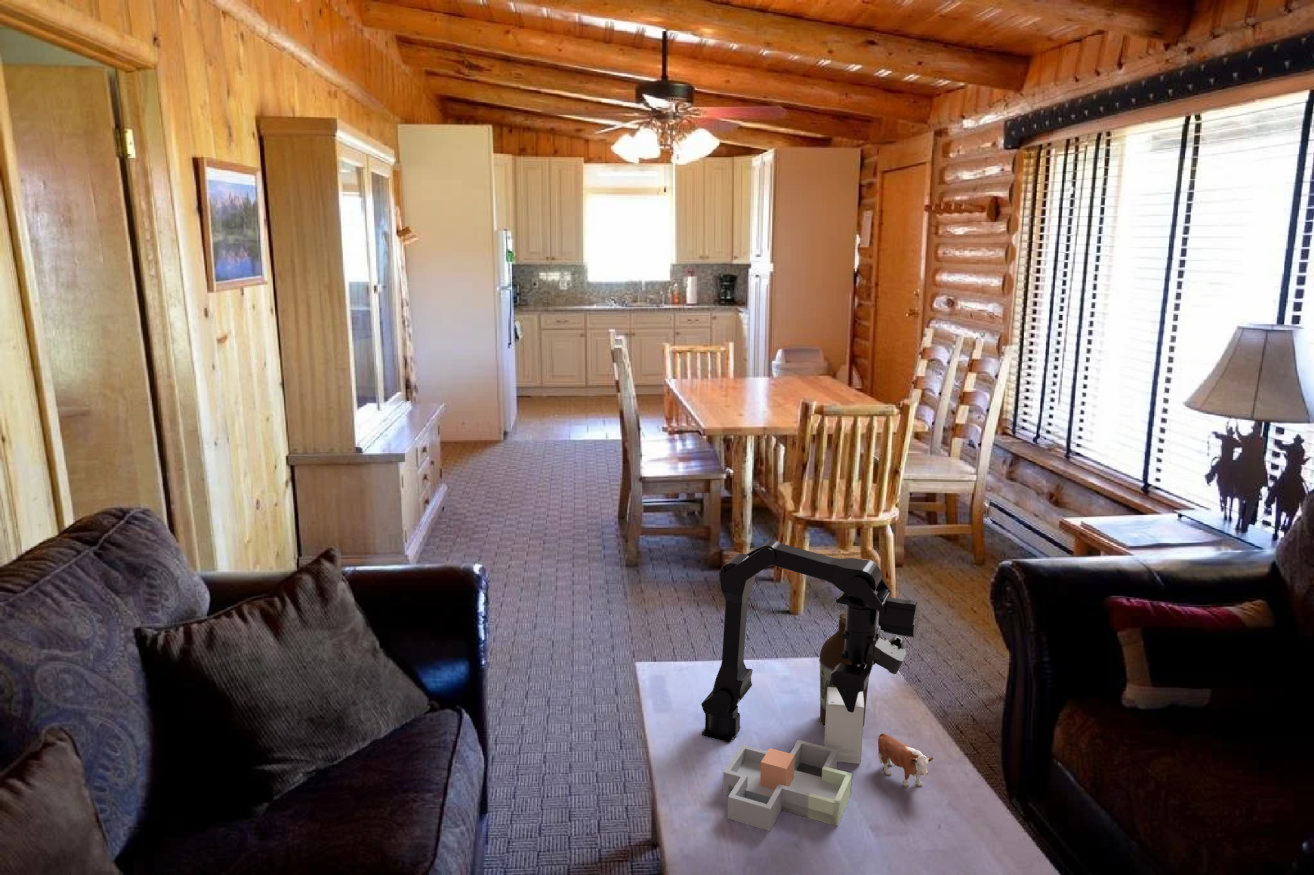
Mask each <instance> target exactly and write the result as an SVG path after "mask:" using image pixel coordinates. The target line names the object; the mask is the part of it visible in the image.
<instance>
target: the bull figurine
mask: <svg viewBox="0 0 1314 875" xmlns="http://www.w3.org/2000/svg"><path fill="white" fill-rule="evenodd" d="M877 745H878V746H877V747H878V749H877V750H878V754H877V755H878V759H879V760H878V761H879V762H880V764H883V767H884V768H883V772H884V773H885V775H886V776H887V777H889V776H891V775H892V773H891V770H890V769H889V767H893V765H894V766H896V767H899V768H901V769H902V770H903V771H904V778H903V780H902V784H903V787H905V788H909V786H910V785H909V782H908V780H909V778H910V775H911V776H913V777H915V783H916V786H917V787H919V788H921V787H923V783H922V781H921V779H920V776H928V775H929V772H928V764H929V762H932V761H933V760H934V757H933V756H930V757H928V758H927V756H926V755H924V754H923V753H922V751H920V750H918V749H916V748H913V747H910V746H908V745H906V744H905V743H903V742H902V741H900V740H899V739H897V738H895V737H893V736H891V735H889V734H886V733H884V732H882V733H880V734H879V736H878V739H877Z"/></svg>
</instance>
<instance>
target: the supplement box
mask: <svg viewBox="0 0 1314 875" xmlns="http://www.w3.org/2000/svg"><path fill="white" fill-rule="evenodd" d="M863 717H864V697H863V692H859V694H858V698H857V702H856V706H855V710H854V712H853V713H852V712H848V711H847V708H846V706H845V704H844V702H843V700H842V697H841V695H840V693H839V691H838V690H837V688H836V687H827V700H826V719H825V727H824V740H823V746H825V747H829V748H833V749H837V750H838V752H837V763H838V762H840V763H845V764H846V763H849V764H857V765H858V764H862V751H863V749H862V747H863V730H864V729H863V728H864V727H863Z"/></svg>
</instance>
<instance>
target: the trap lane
mask: <svg viewBox="0 0 1314 875" xmlns="http://www.w3.org/2000/svg"><path fill="white" fill-rule="evenodd" d="M767 751H768V750H764V749H760V748H757V747H752V746H749V745H745V744H741V745H740V747H739V748H738V750H737V752H736V753H735V754H734V756H733V757H732V758H731V760H730V761H729V763H728V765H727V766H726V768H725V769H724V770H723V772H722V775H723V776H722V778H723V780H722V782H723V783H722V793H723V794H724V795H725V794H726V795H727V819H728V820H731V821H735V822H739V823H741V824H744V825H748V826H752V827H753V828H754V827H755V828H758V829H761V830H765V831H768V832H771V829H772V828H773V826H774V825H775V822H776V820H777V818H778V817H779V815H780V813H781V811H783V812H786V813H791V814H795V815H797V816H801V817H804V818H808V819H811V820H814V821H818V822H822V823H825V824H828V825H830V826H831V825H832V826H835V827H838V826H839V824H840V822H841V819H842V817H843V816H844V813H845V810H846V809H847V805H848V803H849V800H850V799H851V797H852V790H853V788H852V787H853V773H852V772H848V771H844V770H840V769H837V768H838V767H837V766H838V761H837V752H838V750H837V749H833V748H829V747H825V746H824V745H820V744H816V743H812V742H809V741H804V740H800V739H797V741H796V742H795V745H794V746H793V748H792V749H791V751H790V752H789V753H790V754H794V755H795V762H794V779H793V781H792V782H791V784H790V786H789V787H788V786H784V785H780V784H778V786H777V787H776V789H775V790H774V789H771V788H767V787H764V786H760V777H761V761H762V759H763V758H764V756H765V755H766V753H767ZM728 794H729V795H728Z"/></svg>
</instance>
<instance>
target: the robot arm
mask: <svg viewBox="0 0 1314 875" xmlns="http://www.w3.org/2000/svg"><path fill="white" fill-rule="evenodd" d="M770 566H772V567H773V566H774V567H777V568H781V569H783V570H787V571H791V572H794V573H798V574H801V575H805V576H808V577H811V578H814V579H819V580H822V581H825V582H827V583H829V584H832V585H833V586H834V587H836V588H837V589H838V591H841V592H840V593H839V595H838V596H837V598H835V599H836V600H835V602H836V604H839V605H841V604H842V605H845V606H846V611H845V612H846V628H845V631H844V632H843V636H842V638H843V639H845V648H844V650H843V652H842V656H841V658H844V659H848V661H849V662H852V664H851V665H848V664H844V663H840V664H839V665H837V666H836V667H835V669H834V670H833V672H832V673H831V684H832V685H834V686H836V688H837V690H838V691H839V693H840V695H841V697H842V700H843V702H844V704H845V706H846V708H847V711H848V712H852V713H853V712H854V710H855V706H856V702H857V698H858V694H859V692H863V691H864V690H865V689H866V686H867V684H868V685H869V682H868V679H870V675H871V672H872V669H873V666H874V665H878V667H879V666H880V667H881V668H883V669H885V670H887V671H888V673H890V674H893V675H897V674H898V672H899V670H900V668H901V666H902V664H903V662H904V660H905V659H906V656H907V651H906V650H907V649H906V648H904V639H903V638H902V637H906V638H911V639H915V638H916V636H917V633H918V630H919V623H920V613H919V607H918V605H919V604H918V603H919V602H918V601H917V600H915V599H904V598H903V599H902V598H896V597H891V595H892V593H893V592H892V591H891V589H890V587H889V586H888V585H887V583H886V582H885V580H884V578H883V577H882V575H883V574H882V571H881V569H880V567H879V566H878V564H877V563H876V562H875V561H873V560H871V559H864V558H854V557H848V558H837V557H832V556H828V555H825V554H821V553H818V552H814V551H810V550H807V549H804V548H803V549H802V548H799V547H796V546H792V545H788V544H785V543H781V542H780V541H778V540H775V539H774V540H773V539H772V540H767V541H766V542H765V543H764V544H763V545H760V546H759V547H757V548H754V549H753V550H751V551H750V552H748V553H747V554H746V553H738V554H736V555H734V556H732V558H731V559H730V560H729V561H727V562H726V563H725V564H724V565H723V566H722V567H721V568H720V570H719V574H718V575H719V577H718V578H719V585H720V591H721V593H722V596H723V598H724V602H725V603H724V617H723V618H724V619H723V636H722V637H723V638H722V650H721V651H722V653H721V664H720V667H719V669H718V672H717V675H716V678H715V680H714V684H713V688H712V691H710V693H709V694H708V695H707V696H706V697H705V699H704V700H703V701H702V702H701V707H702V712H703V713H704V715H705V716H704V730H702V733H701V736H702V737H705V738H710V739H713V740H717V741H721V742H723V743H724V742H725V743H729V744H730V743H732V741H733V740H734V738H736V736H737V735H738V733H739V732H740V731H741V713H739V705H738V704H739V703H740V701H741V700H742V699H744V697H745V695H746V694H747V692H749V690H750V689H751V688H752V686H753V682H752V675H753V668H747V666H746V664H745V661H744V656H745V644H746V633H747V632H746V628H747V613H748V600H749V597H750V594H751V592H752V589H753V587H754V584H755V581H756V576H757V574H759V573H760V572H761V571H763V570H764V569H766V568H768V567H770ZM877 621H878V623H877ZM877 624H878V626H879V628H880V631H883V633H887V634H891V635H892V634H893V635H895V636H893V637H892V638H890V639H888V638H886V639H883V638H882V636H880V635H881V632H880V631H879V629H878V628H877ZM899 636H902V637H899Z"/></svg>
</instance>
